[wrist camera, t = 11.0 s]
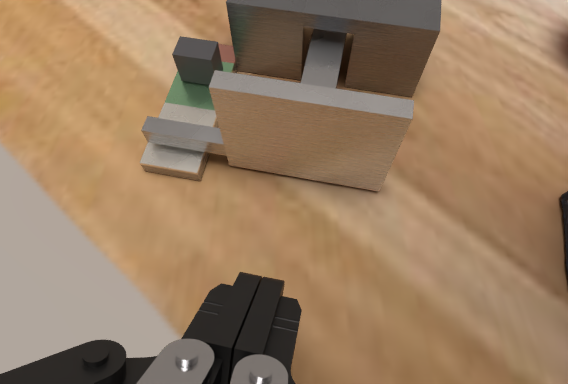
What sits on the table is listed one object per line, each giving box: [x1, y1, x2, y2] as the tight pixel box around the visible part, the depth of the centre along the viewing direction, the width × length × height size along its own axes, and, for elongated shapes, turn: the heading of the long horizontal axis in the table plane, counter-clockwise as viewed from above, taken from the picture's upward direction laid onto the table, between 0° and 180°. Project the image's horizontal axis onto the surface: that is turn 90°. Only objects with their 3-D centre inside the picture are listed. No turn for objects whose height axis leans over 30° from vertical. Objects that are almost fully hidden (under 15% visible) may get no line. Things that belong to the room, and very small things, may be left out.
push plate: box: [141, 29, 414, 191], centre depth 23 cm, size 14×11×7 cm
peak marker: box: [172, 37, 223, 85], centre depth 25 cm, size 2×2×2 cm, turn 79°
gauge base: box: [140, 0, 441, 181], centre depth 24 cm, size 16×14×6 cm
